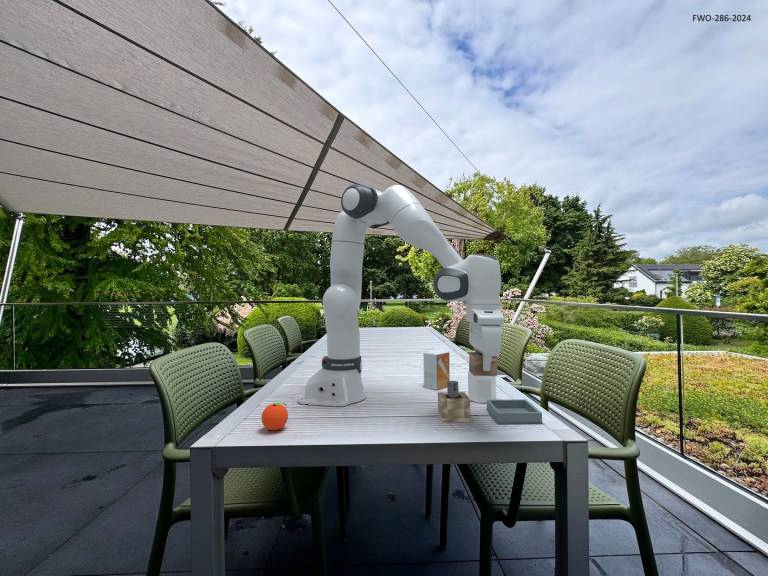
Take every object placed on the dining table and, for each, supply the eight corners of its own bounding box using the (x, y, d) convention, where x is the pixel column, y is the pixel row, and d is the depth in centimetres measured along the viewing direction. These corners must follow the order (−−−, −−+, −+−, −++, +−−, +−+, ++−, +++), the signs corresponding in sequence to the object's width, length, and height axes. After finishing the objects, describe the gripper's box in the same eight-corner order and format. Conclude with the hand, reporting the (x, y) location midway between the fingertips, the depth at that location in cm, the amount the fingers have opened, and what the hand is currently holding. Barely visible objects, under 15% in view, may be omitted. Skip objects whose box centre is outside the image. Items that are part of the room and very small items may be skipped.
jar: (501, 401, 122) (500, 364, 122) (481, 405, 118) (481, 367, 118) (482, 394, 130) (482, 359, 130) (463, 397, 127) (463, 362, 126)
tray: (497, 424, 102) (497, 413, 102) (486, 409, 114) (486, 399, 114) (542, 423, 102) (542, 412, 102) (526, 409, 114) (526, 399, 114)
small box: (437, 390, 136) (436, 354, 135) (423, 387, 140) (422, 352, 140) (450, 386, 141) (449, 351, 141) (436, 383, 146) (436, 349, 146)
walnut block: (473, 375, 97) (473, 356, 97) (468, 370, 103) (469, 351, 103) (497, 376, 97) (497, 356, 96) (491, 370, 103) (491, 352, 103)
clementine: (278, 421, 107) (277, 396, 107) (296, 426, 103) (296, 400, 103) (255, 431, 100) (255, 404, 100) (274, 436, 96) (274, 409, 96)
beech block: (441, 422, 105) (441, 400, 105) (438, 412, 113) (437, 392, 113) (470, 421, 104) (470, 400, 104) (464, 412, 112) (464, 392, 112)
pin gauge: (449, 415, 107) (448, 383, 107) (447, 411, 110) (446, 380, 110) (460, 414, 107) (459, 383, 107) (458, 411, 110) (457, 380, 110)
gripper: (464, 311, 110) (463, 359, 110) (479, 318, 90) (479, 376, 90) (485, 312, 110) (485, 359, 110) (506, 318, 89) (505, 376, 90)
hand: (482, 367), depth 100 cm, fingers closed on walnut block, 6 cm apart
